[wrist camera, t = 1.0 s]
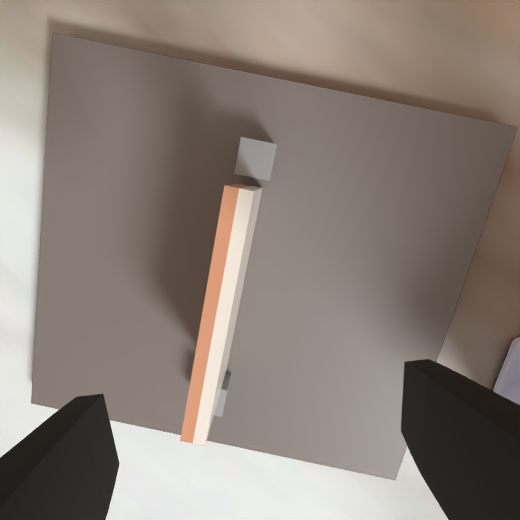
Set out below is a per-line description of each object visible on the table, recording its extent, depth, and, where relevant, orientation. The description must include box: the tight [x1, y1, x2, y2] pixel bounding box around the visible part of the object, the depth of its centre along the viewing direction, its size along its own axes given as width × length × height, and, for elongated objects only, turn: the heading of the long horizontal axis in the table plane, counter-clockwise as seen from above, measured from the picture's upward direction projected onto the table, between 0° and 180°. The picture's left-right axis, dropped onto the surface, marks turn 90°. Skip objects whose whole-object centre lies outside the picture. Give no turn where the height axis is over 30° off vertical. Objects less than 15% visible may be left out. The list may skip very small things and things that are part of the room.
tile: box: [180, 184, 262, 446], centre depth 16 cm, size 1×10×6 cm, turn 169°
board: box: [31, 33, 518, 480], centre depth 18 cm, size 22×20×3 cm
